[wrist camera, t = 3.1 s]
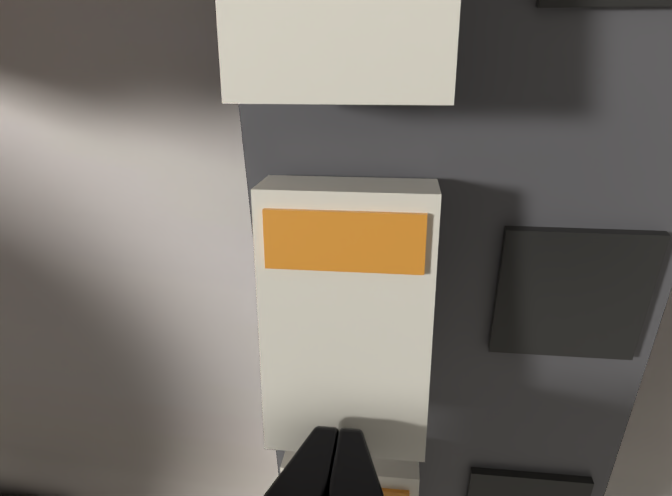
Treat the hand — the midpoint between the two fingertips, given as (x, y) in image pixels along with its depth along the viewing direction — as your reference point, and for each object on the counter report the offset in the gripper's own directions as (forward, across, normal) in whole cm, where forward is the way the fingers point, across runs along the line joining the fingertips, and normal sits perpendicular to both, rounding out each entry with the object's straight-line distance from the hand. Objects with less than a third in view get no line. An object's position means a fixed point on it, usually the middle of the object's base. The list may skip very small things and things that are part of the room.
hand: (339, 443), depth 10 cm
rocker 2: (+1, 0, -2) cm, 2 cm away
